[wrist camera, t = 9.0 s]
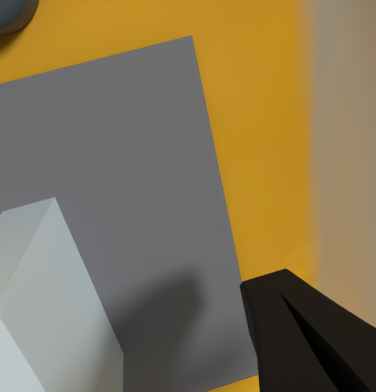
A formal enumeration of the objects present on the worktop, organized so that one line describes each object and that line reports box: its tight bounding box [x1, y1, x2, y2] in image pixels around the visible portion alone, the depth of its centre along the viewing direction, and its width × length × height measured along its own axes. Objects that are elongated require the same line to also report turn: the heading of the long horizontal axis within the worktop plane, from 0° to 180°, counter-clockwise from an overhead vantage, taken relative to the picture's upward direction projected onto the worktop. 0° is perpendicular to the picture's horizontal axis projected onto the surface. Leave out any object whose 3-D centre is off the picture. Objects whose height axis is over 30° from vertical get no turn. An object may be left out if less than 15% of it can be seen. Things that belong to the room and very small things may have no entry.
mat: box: [0, 36, 258, 392], centre depth 12 cm, size 14×12×1 cm
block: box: [0, 197, 124, 392], centre depth 9 cm, size 7×2×5 cm, turn 13°
